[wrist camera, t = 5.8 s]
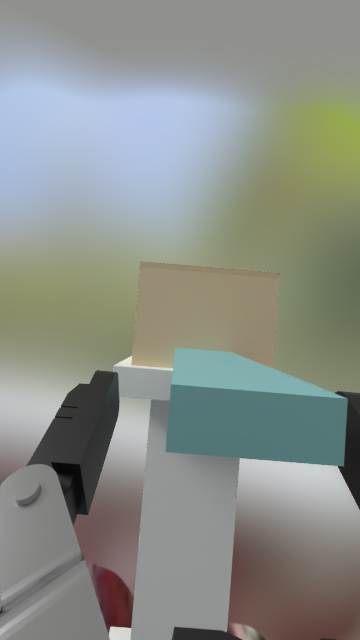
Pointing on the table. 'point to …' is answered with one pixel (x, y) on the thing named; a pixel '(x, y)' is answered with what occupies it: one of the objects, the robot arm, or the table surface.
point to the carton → (230, 368)
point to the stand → (179, 525)
